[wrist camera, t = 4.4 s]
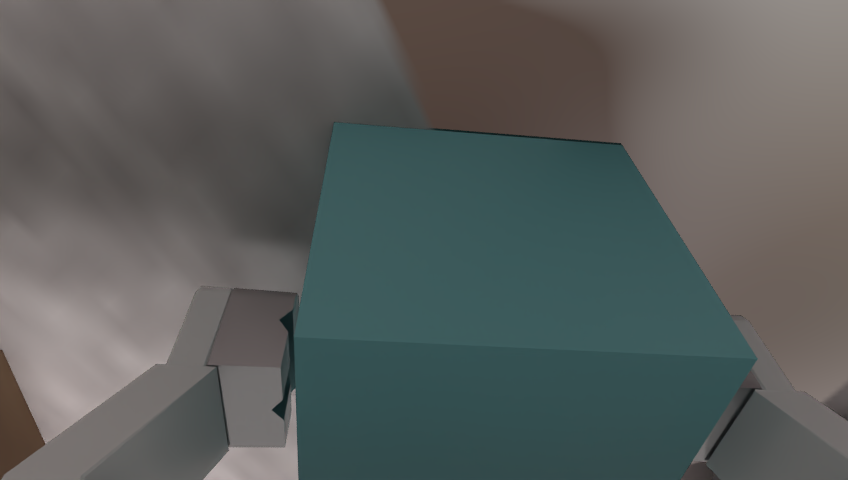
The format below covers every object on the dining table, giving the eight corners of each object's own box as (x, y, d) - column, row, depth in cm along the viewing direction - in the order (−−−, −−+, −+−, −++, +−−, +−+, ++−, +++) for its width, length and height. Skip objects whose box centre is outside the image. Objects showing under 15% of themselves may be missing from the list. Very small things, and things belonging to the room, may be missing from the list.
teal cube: (621, 143, 11) (757, 358, 7) (554, 341, 14) (620, 572, 10) (334, 120, 10) (293, 337, 6) (330, 330, 13) (301, 568, 9)
